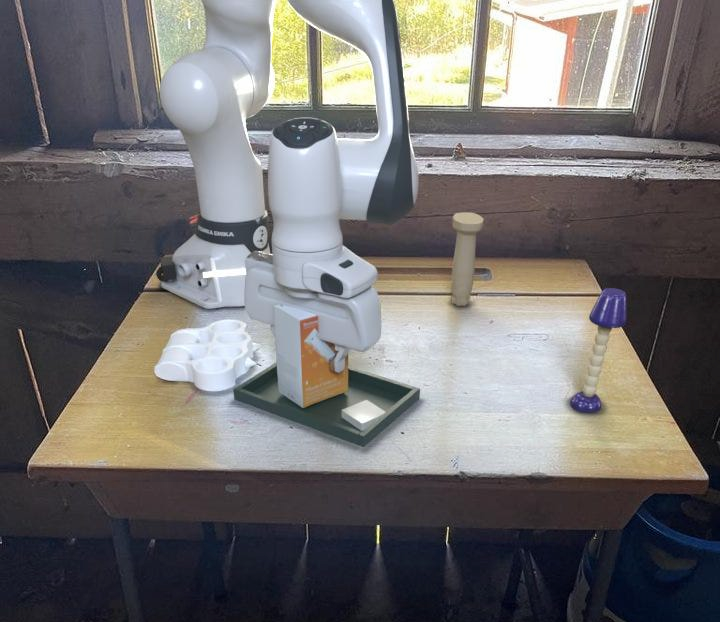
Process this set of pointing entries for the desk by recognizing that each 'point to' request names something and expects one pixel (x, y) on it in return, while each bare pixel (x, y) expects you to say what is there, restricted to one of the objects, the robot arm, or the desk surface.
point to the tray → (332, 403)
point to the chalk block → (362, 414)
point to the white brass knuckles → (208, 355)
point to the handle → (464, 256)
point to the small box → (305, 358)
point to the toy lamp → (600, 345)
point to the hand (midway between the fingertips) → (311, 361)
